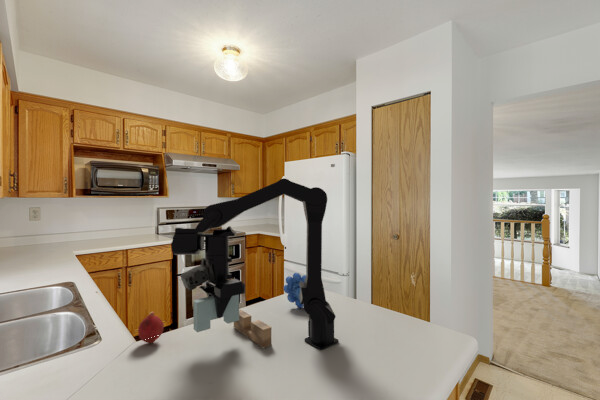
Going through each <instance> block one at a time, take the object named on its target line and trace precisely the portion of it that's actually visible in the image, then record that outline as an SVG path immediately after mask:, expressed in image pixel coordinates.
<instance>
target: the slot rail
mask: <svg viewBox="0 0 600 400" xmlns="http://www.w3.org/2000/svg"><path fill="white" fill-rule="evenodd" d="M234 327H235V328H236V329H235V328H234ZM233 328H234V329H235V330H236V331H238V330H239V331H238V332H239V333H241V334H243V335H244V336H245V337H246V338H248V339H250V340H251V341H253V343H256V344H257V345H258V346H260V347H261V348H263V349H265V348H266V347H269V346H272V326H271V325H268V324H267V323H265V322H263V321H261V320H260V319H258V320H253V321H252V315H251V314H250V313H248V312H245V311H244V310H242V309H239V321H235V322H233Z"/></svg>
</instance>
